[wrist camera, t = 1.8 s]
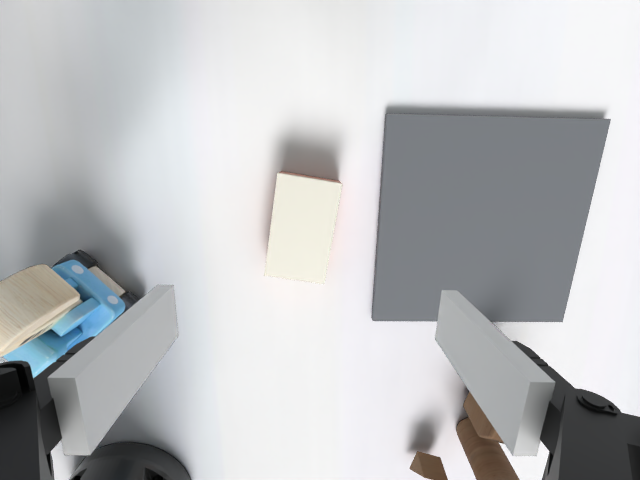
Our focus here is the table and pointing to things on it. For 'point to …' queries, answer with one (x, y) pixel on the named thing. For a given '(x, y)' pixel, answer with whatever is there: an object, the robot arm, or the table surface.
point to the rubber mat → (483, 213)
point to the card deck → (302, 227)
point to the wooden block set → (471, 449)
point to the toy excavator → (57, 309)
